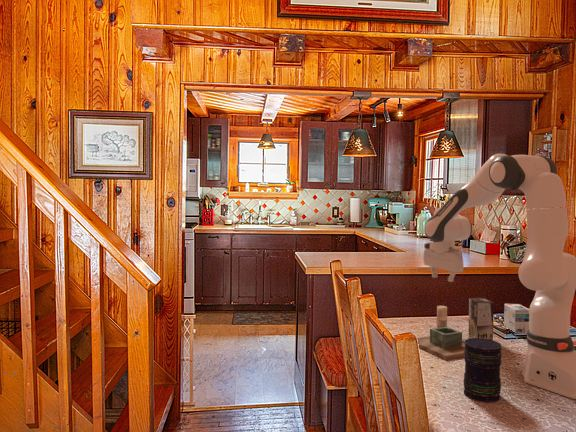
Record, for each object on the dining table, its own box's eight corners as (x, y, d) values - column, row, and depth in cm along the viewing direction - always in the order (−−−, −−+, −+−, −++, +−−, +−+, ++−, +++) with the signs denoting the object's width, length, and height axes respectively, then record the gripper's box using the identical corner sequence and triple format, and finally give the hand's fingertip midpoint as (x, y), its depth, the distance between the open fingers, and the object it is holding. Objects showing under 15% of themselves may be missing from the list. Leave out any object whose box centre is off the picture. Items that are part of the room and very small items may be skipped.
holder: (484, 353, 171) (485, 335, 170) (445, 360, 164) (445, 341, 163) (445, 337, 189) (446, 321, 189) (408, 343, 182) (409, 326, 182)
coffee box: (493, 345, 180) (494, 302, 179) (476, 344, 180) (477, 302, 179) (484, 337, 189) (485, 297, 188) (467, 337, 189) (468, 297, 188)
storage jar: (470, 385, 143) (471, 335, 142) (504, 393, 137) (506, 342, 136) (458, 396, 135) (459, 344, 134) (494, 406, 129) (495, 351, 128)
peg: (448, 331, 197) (449, 307, 197) (441, 332, 196) (441, 308, 195) (442, 328, 201) (442, 305, 201) (434, 329, 199) (435, 306, 199)
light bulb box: (531, 336, 191) (532, 309, 190) (514, 336, 191) (515, 309, 190) (519, 328, 202) (519, 303, 201) (503, 328, 202) (503, 303, 201)
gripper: (467, 248, 188) (466, 283, 189) (432, 243, 207) (432, 274, 208) (455, 249, 186) (454, 284, 187) (421, 243, 205) (420, 275, 205)
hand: (442, 279), depth 197 cm, fingers open, 8 cm apart
